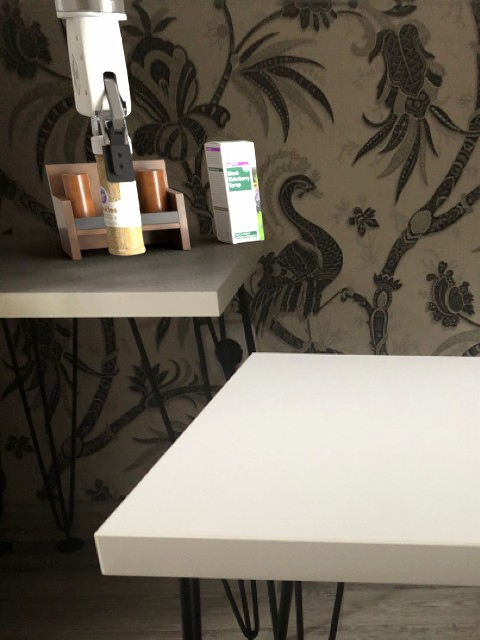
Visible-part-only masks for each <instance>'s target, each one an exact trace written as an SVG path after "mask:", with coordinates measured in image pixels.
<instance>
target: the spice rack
mask: <svg viewBox="0 0 480 640" xmlns="http://www.w3.org/2000/svg"><path fill="white" fill-rule="evenodd" d="M132 162H133V169H134V176H135V182H136V189H137V196H138V203H139V210H140V217H141V230H142V237H143V243H144V245H153V244H163V243H164V244H165V243H170V244H171V245H173V246H175V247H177V248H179V249H181V250H182V251H189V250H192V248H191V247H192V246H191V239H190V232H189V225H188V219H187V212H186V205H185V199H184V198H185V197H184V193H182V192H181V191H178V190H174V189H172V188H169V182H168V176H167V170H166V162H165V160H164V159H146V160H143V159H142V160H132ZM44 166H45V172H46V176H47V180H48V186H49V190H50V195H51V200H52V204H53V209H54V214H55V220H56V223H57V229H58V233H59V238H60V243H61V248H62V251H63V252H64V253H66V254H67V255H68V256H69V257H70V258H71V259H72V260H73V261H78V260H82V259H83V258H82V253H81V251H83V250H94V249H106V248H109V242H108V235H107V229H106V225H105V219H104V212H103V205H102V199H101V192H100V182H99V176H98V169H97V164H96V162H80V163H61V164H59V163H57V164H45V165H44Z"/></svg>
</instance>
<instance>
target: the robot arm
mask: <svg viewBox="0 0 480 640" xmlns="http://www.w3.org/2000/svg"><path fill="white" fill-rule="evenodd" d="M54 6H55V11H56V17H57V19H62V20H65V25H66V26H65V27H66V40H67V48H68V49H67V50H68V57H69V66H70V72H71V73H70V74H71V80H72V87H73V95H74V103H75V104H74V105H75V108H76V111H77V112H78V114H80V115H81V116H86V117H89V118H90V124H91V131H92V137H94V136H101V135H103V141H104V145H105V146H102V151H103V157H104V164H105V170H106V177H107V180H108V182H110V183H119V182H134V181H135V176H134V169H133V162H132V161H133V154H132V153H131V148H130V145H129V138H130V137H129V132H128V127H127V123H126V117H128V116H129V114H131V111H132V103H131V94H130V85H129V79H128V71H127V66H126V65H127V64H126V59H125V53H124V46H123V42H122V41H123V39H122V36H121V30H120V25H119V21H128V18H127V12H126V3H125V0H54Z"/></svg>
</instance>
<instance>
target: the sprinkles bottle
mask: <svg viewBox="0 0 480 640" xmlns="http://www.w3.org/2000/svg"><path fill="white" fill-rule="evenodd" d="M90 141H91V142H90V143H91V149H92V153H93V154H94V158H95V163H96V164H97V169H98V176H99V182H100V192H101V199H102V205H103V212H104V219H105V225H106V229H107V235H108V242H109V247H108V252H109V253H110V254H111V255H113V256H114V255H115V256H125V257H126V256H134V255H142V254H144V253H145V252H146V247H145V244H144V243H143V237H142V230H141V217H140V210H139V203H138V196H137V189H136V182H135V181H134V182H119V183H110V182H108V180H107V177H106V170H105V164H104V157H103V151H102V146H105V145H104V141H103V135H101V136H94V137H93V136H91V138H90ZM129 145H130V148H131V154H133V147H132V141H131V138H130V137H129Z"/></svg>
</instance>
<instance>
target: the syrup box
mask: <svg viewBox="0 0 480 640" xmlns="http://www.w3.org/2000/svg"><path fill="white" fill-rule="evenodd" d="M203 146H204V153H205V160H206V168H207V174H208V181H209V189H210V195H211V202H212V210H213V216H214V223H215V231H216V237H217V240H218V241H220V242H222V243H227V244H231V245H237V244H243V243H252V242H259V241H261V242H262V241H264V240H265V233H264V232H265V231H264V224H263V214H262V208H261V207H262V206H261V198H260V189H259V180H258V171H257V162H256V154H255V146H254V142H253V141H250V140H221V141H209V142H204V144H203Z"/></svg>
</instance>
